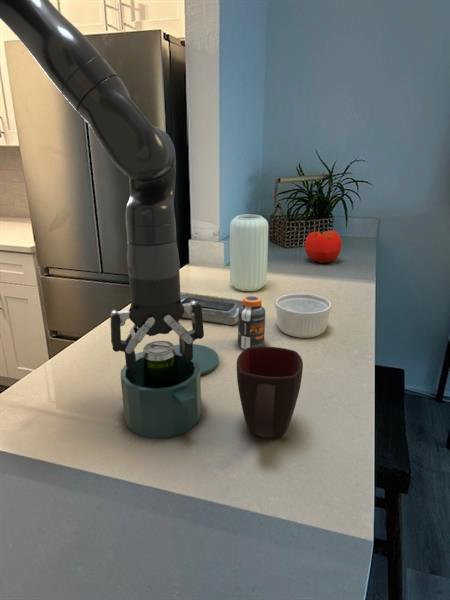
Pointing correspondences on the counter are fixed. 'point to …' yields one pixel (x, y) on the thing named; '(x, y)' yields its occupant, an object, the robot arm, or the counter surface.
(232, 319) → the grey metal tray
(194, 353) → the pot lid
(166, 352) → the beer can
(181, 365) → the pot
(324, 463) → the counter surface
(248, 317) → the pill bottle
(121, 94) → the robot arm
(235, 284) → the vase
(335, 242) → the tomato
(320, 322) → the ramekin
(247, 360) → the cup
